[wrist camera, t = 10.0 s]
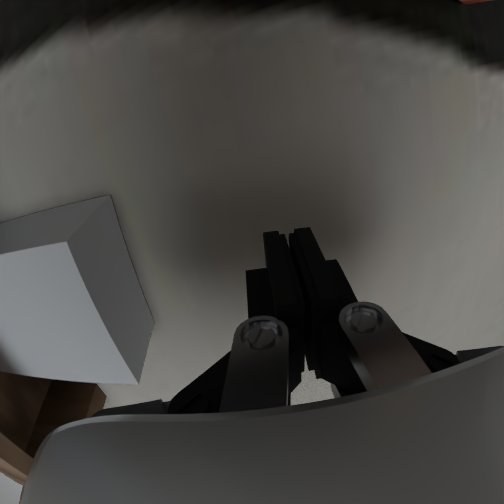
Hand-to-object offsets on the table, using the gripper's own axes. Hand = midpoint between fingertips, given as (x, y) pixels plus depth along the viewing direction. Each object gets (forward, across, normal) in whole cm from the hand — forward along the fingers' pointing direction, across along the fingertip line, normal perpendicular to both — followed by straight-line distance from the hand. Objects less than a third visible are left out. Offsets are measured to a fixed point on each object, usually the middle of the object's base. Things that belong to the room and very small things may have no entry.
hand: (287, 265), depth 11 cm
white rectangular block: (+2, +12, 0) cm, 12 cm away
